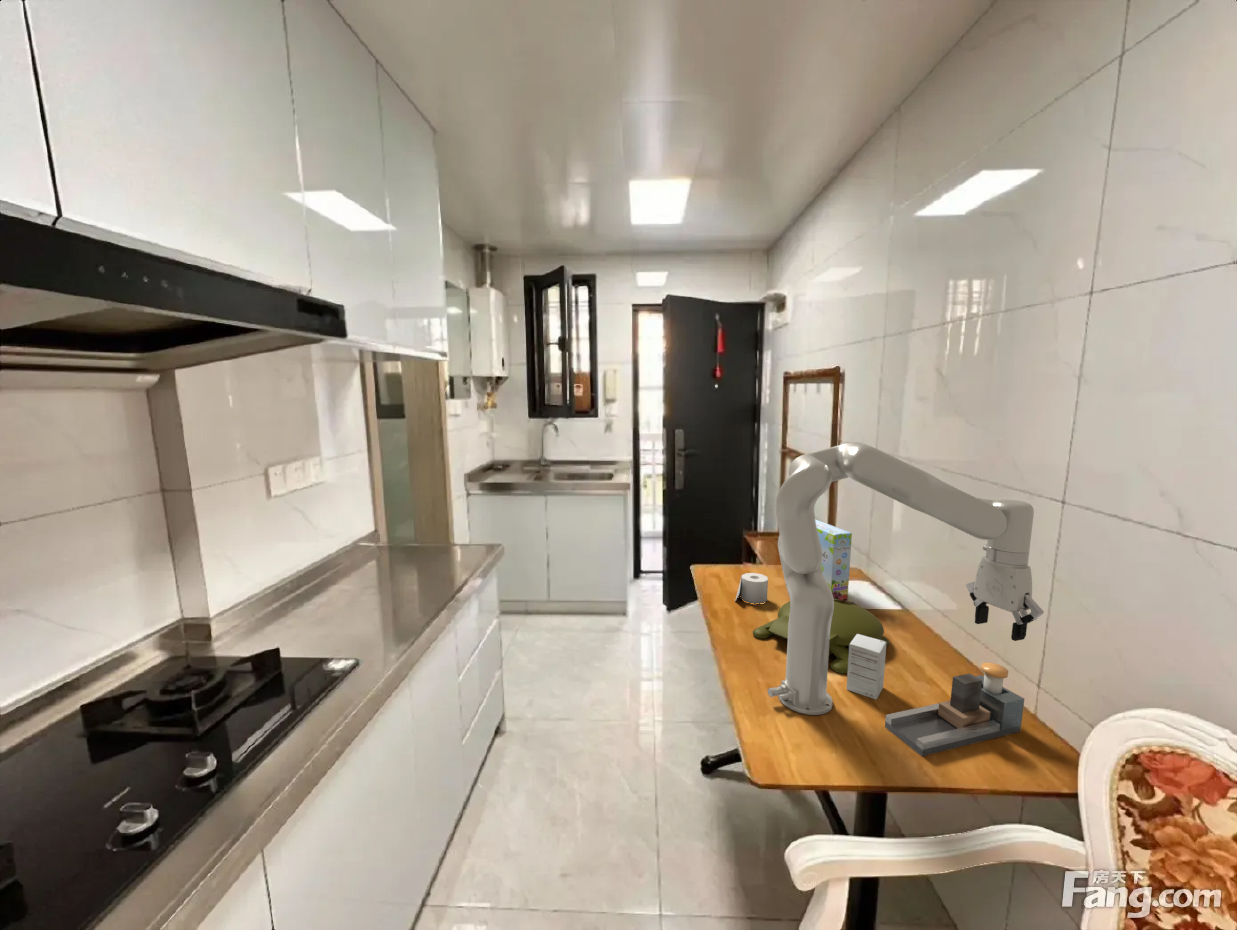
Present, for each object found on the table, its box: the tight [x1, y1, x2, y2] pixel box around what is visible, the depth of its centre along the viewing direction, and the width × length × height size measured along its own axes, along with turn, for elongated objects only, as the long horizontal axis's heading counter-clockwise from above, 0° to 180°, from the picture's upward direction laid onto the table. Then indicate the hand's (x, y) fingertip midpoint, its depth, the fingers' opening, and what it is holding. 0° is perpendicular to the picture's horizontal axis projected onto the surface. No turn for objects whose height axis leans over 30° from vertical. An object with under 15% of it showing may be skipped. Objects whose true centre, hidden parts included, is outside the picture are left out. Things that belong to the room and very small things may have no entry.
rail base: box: [884, 674, 1025, 757], centre depth 117 cm, size 28×10×8 cm, turn 107°
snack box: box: [815, 518, 853, 601], centre depth 197 cm, size 22×9×26 cm, turn 17°
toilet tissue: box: [734, 572, 769, 604], centre depth 188 cm, size 9×13×9 cm
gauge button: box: [980, 662, 1009, 695], centre depth 119 cm, size 5×5×8 cm
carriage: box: [938, 673, 991, 728], centre depth 117 cm, size 8×6×10 cm
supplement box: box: [846, 634, 887, 700], centre depth 132 cm, size 7×7×13 cm
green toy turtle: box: [752, 599, 890, 675], centre depth 161 cm, size 35×31×10 cm
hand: (998, 630), depth 117 cm, fingers open, 7 cm apart
